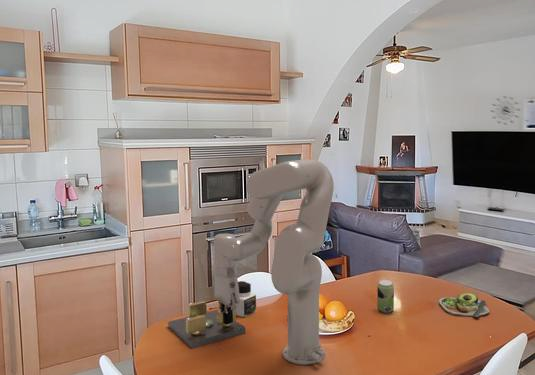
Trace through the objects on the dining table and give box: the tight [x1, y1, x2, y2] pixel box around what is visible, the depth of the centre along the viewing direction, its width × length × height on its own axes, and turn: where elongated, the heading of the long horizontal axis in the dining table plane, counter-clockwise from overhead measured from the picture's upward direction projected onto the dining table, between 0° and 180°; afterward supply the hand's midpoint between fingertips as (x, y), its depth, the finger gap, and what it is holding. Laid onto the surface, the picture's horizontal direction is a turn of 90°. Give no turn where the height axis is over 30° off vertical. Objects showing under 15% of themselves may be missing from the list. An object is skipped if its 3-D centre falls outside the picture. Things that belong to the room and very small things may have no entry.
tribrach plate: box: [167, 308, 246, 349], centre depth 160 cm, size 20×20×4 cm
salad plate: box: [438, 292, 490, 318], centre depth 175 cm, size 19×18×5 cm
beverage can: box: [376, 279, 395, 314], centre depth 174 cm, size 6×7×12 cm
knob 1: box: [186, 315, 206, 335], centre depth 152 cm, size 3×6×6 cm, turn 123°
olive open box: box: [187, 300, 208, 318], centre depth 166 cm, size 3×6×6 cm, turn 123°
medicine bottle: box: [236, 280, 257, 318], centre depth 175 cm, size 7×7×12 cm
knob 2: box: [217, 309, 237, 327], centre depth 159 cm, size 3×6×6 cm, turn 123°
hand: (226, 321), depth 159 cm, fingers closed on knob 2, 2 cm apart
